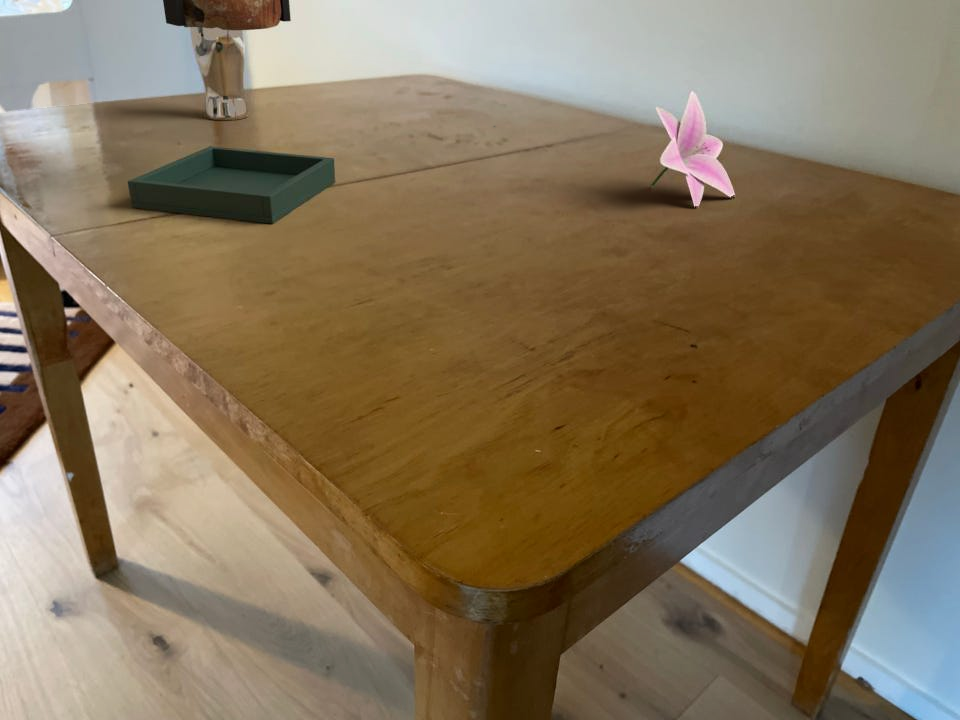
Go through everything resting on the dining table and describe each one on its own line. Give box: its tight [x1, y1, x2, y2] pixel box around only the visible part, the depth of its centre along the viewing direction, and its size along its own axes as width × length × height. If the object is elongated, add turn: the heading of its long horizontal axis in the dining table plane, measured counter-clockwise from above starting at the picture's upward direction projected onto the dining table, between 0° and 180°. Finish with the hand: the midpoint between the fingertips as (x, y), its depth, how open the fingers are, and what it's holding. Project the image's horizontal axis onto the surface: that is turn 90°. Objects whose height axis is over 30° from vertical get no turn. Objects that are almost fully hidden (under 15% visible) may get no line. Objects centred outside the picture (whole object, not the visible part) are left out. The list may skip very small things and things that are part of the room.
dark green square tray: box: [127, 145, 336, 225], centre depth 78 cm, size 15×15×3 cm
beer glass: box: [189, 27, 250, 121], centre depth 108 cm, size 7×7×15 cm
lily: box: [650, 90, 736, 207], centre depth 82 cm, size 12×12×10 cm
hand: (230, 22), depth 76 cm, fingers closed on bread roll, 10 cm apart
